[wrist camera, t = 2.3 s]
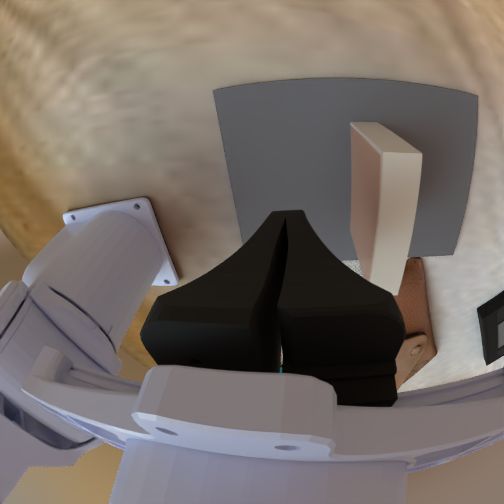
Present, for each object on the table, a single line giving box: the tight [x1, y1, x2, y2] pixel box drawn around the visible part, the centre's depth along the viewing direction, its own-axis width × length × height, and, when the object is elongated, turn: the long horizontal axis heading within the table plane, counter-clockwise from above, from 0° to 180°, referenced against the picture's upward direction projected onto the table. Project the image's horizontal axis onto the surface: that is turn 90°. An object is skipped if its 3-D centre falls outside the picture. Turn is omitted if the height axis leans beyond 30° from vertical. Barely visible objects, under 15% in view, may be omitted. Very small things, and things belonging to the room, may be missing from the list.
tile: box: [350, 122, 423, 295], centre depth 12 cm, size 2×7×6 cm, turn 8°
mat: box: [213, 78, 478, 261], centre depth 15 cm, size 16×12×1 cm
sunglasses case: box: [393, 257, 437, 390], centre depth 23 cm, size 18×7×7 cm
